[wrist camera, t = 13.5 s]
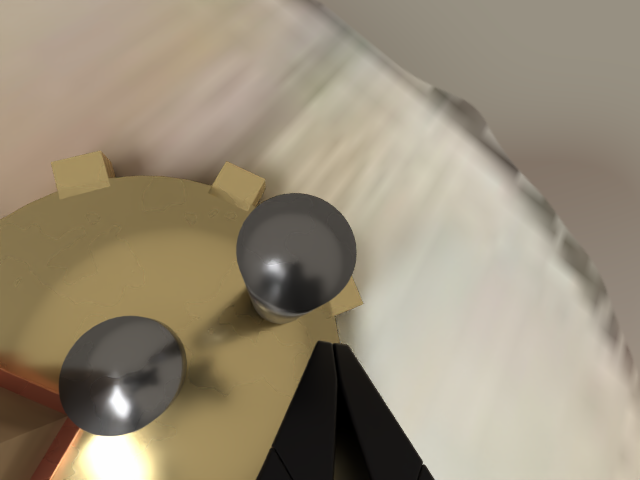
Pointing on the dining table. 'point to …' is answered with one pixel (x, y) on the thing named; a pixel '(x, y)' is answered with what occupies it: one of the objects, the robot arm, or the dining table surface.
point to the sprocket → (166, 317)
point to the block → (25, 434)
